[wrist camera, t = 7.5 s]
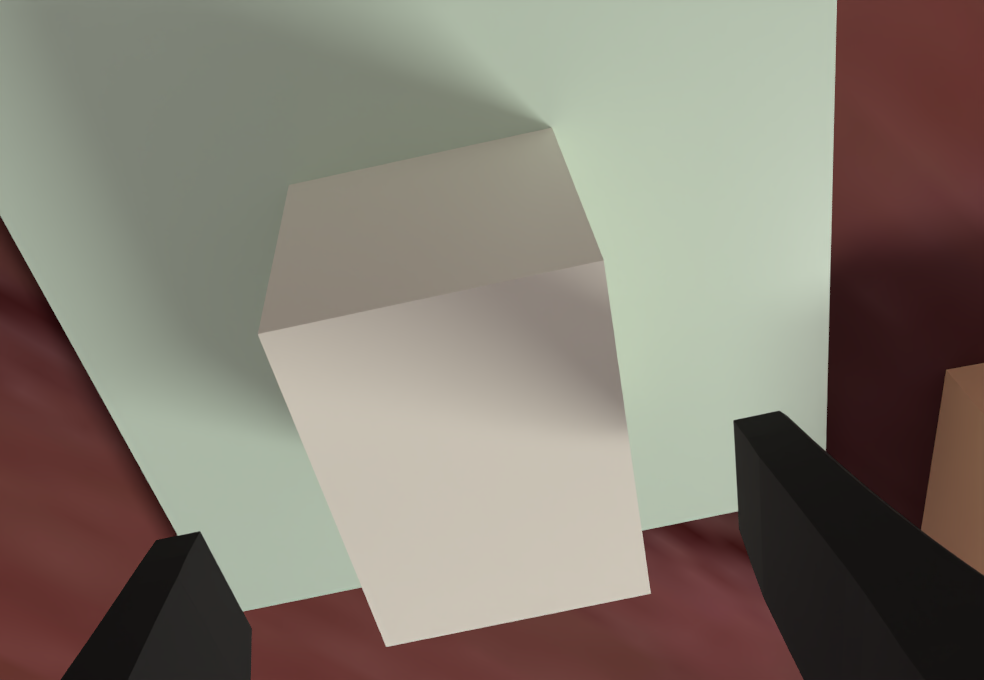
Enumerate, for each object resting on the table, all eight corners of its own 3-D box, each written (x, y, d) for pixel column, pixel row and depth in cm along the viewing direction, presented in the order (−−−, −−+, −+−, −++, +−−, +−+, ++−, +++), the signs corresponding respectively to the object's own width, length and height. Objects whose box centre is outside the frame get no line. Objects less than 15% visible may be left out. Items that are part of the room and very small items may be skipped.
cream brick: (386, 466, 19) (386, 647, 16) (289, 184, 16) (257, 333, 12) (599, 421, 19) (650, 593, 15) (552, 127, 15) (603, 259, 12)
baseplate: (225, 595, 22) (222, 615, 21) (-102, -10, 14) (-120, 0, 13) (814, 475, 21) (825, 493, 21) (825, -221, 13) (841, -217, 13)
